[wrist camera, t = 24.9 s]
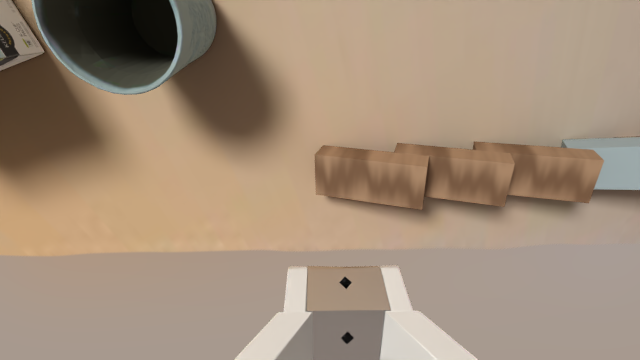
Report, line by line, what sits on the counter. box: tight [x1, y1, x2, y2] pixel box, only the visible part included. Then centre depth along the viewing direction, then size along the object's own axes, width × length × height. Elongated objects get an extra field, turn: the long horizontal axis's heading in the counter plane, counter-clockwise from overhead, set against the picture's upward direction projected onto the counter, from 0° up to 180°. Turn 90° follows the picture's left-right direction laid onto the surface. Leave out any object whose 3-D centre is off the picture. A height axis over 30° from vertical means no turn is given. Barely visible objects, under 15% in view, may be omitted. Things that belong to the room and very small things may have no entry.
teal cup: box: [32, 0, 216, 95], centre depth 29 cm, size 10×10×12 cm
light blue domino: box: [561, 137, 640, 190], centre depth 38 cm, size 5×3×12 cm
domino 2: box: [394, 143, 515, 207], centre depth 39 cm, size 5×3×12 cm
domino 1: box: [315, 145, 429, 210], centre depth 39 cm, size 5×3×12 cm
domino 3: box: [473, 142, 604, 203], centre depth 39 cm, size 5×3×12 cm
